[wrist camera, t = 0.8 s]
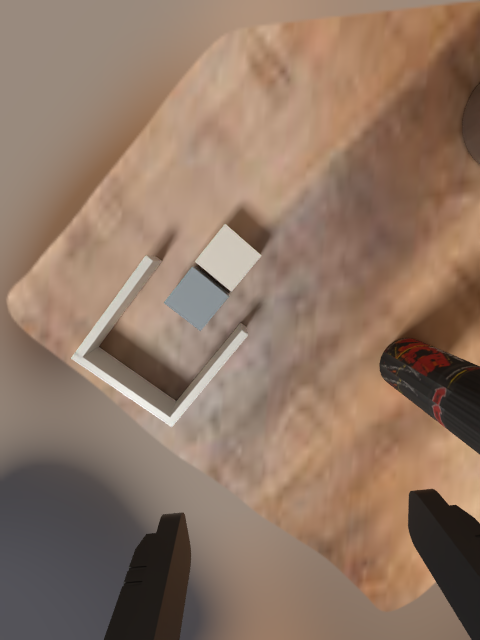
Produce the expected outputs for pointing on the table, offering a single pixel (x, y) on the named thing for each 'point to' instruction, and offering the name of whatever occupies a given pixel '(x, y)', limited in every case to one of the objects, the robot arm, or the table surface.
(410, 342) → the deodorant
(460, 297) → the table surface
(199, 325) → the grey-blue square block
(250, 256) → the tile white
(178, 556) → the robot arm
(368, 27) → the table surface
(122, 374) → the tray
